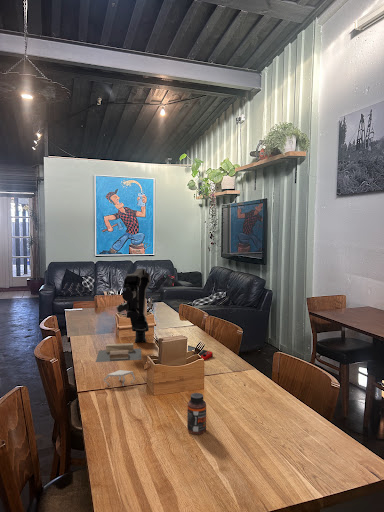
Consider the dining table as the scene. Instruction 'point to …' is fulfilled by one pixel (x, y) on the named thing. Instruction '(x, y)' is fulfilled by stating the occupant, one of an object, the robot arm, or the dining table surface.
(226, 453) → the dining table surface
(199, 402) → the supplement bottle
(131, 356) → the mat
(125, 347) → the rail
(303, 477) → the dining table surface
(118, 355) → the deck
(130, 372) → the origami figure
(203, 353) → the gaming console
